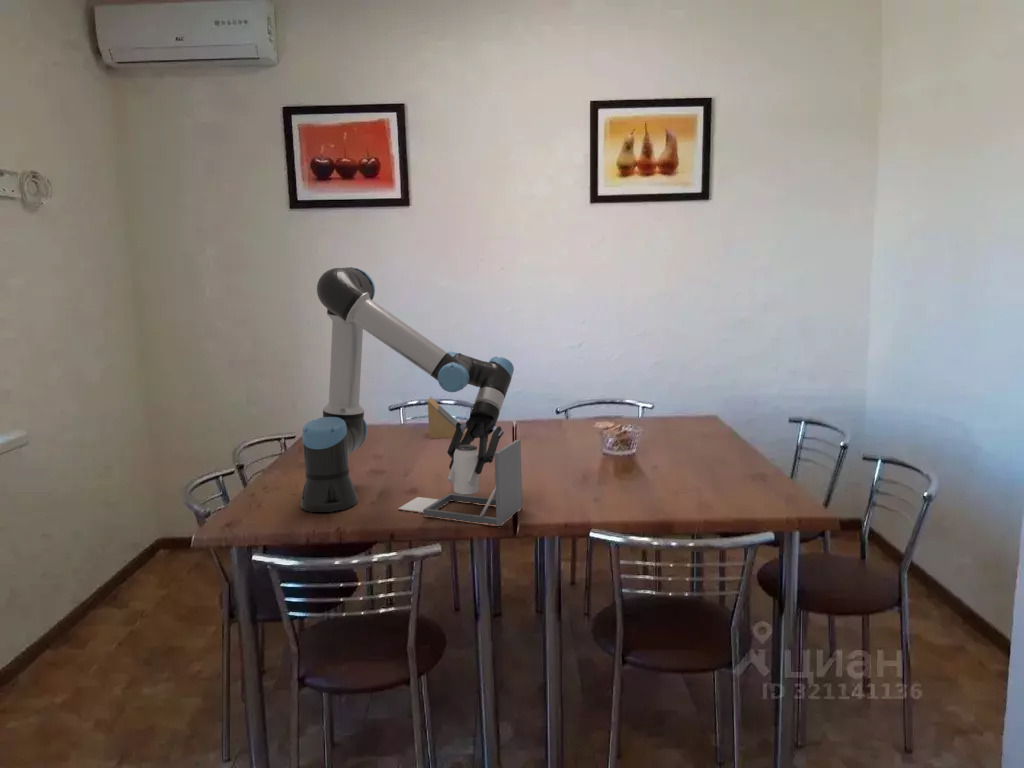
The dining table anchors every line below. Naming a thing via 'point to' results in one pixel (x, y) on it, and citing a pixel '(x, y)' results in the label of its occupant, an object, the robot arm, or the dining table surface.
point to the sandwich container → (440, 421)
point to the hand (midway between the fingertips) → (460, 482)
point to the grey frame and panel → (506, 491)
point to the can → (464, 469)
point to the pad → (418, 504)
